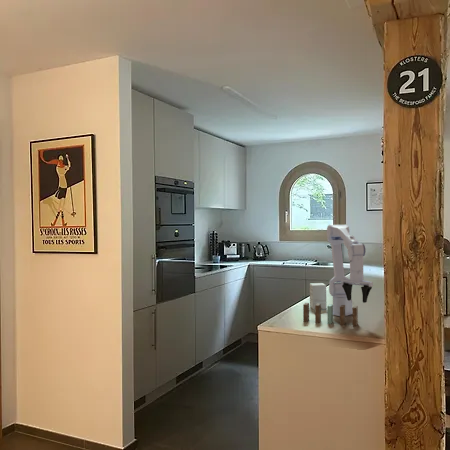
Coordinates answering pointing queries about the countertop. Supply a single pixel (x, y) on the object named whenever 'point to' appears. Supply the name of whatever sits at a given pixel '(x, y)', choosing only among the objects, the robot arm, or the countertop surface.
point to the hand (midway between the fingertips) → (356, 301)
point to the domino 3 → (330, 313)
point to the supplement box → (318, 295)
